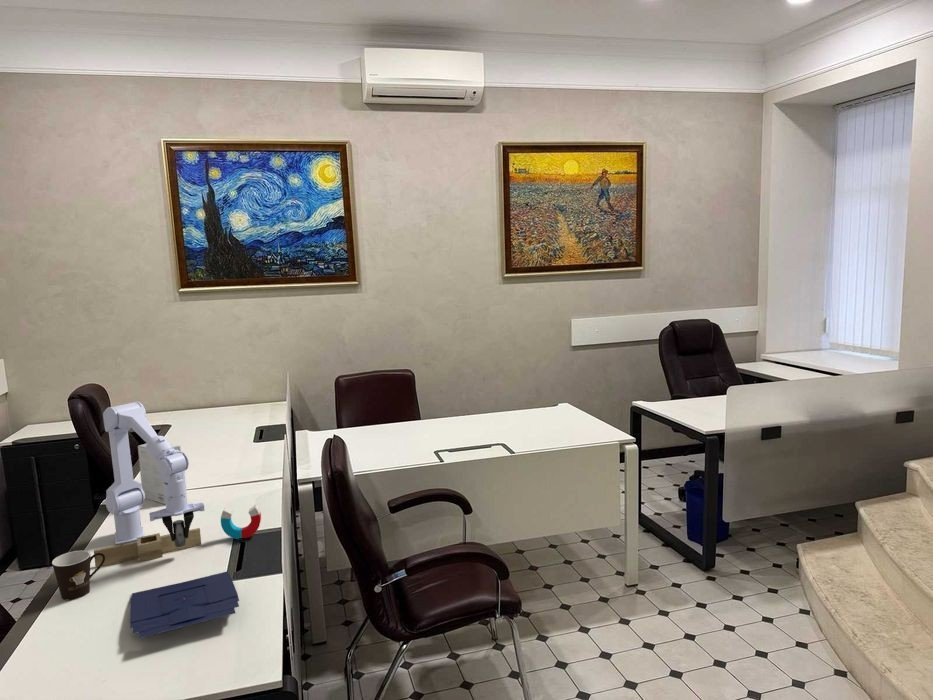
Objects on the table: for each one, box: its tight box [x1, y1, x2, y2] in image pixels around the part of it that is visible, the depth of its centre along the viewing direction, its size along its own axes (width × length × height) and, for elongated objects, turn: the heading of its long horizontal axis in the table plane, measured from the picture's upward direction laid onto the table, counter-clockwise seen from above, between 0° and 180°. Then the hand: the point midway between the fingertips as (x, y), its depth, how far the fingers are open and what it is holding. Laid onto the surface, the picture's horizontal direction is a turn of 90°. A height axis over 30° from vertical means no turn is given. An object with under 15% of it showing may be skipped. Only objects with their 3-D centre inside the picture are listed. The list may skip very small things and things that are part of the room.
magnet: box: [220, 504, 262, 540], centre depth 199 cm, size 12×3×10 cm, turn 102°
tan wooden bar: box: [93, 527, 202, 569], centre depth 189 cm, size 6×28×5 cm, turn 119°
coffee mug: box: [51, 550, 105, 601], centre depth 168 cm, size 12×9×10 cm
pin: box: [172, 519, 186, 547], centre depth 187 cm, size 3×3×7 cm
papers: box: [129, 571, 240, 639], centre depth 159 cm, size 24×30×4 cm
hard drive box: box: [137, 442, 182, 506], centre depth 232 cm, size 16×8×20 cm, turn 58°
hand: (179, 538), depth 187 cm, fingers closed on pin, 3 cm apart
